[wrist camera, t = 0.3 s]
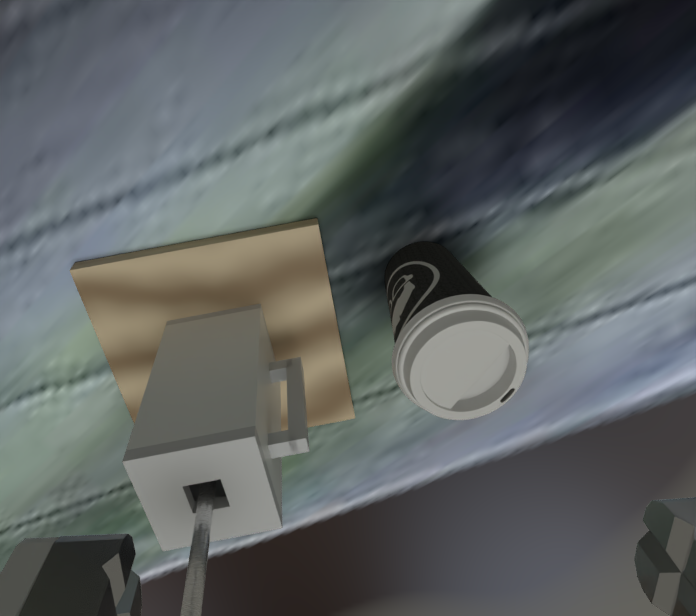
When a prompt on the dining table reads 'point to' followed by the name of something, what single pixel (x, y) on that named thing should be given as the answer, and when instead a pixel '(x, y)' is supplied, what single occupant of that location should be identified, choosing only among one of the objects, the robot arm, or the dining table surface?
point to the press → (216, 427)
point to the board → (222, 306)
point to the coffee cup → (451, 336)
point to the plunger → (199, 551)
